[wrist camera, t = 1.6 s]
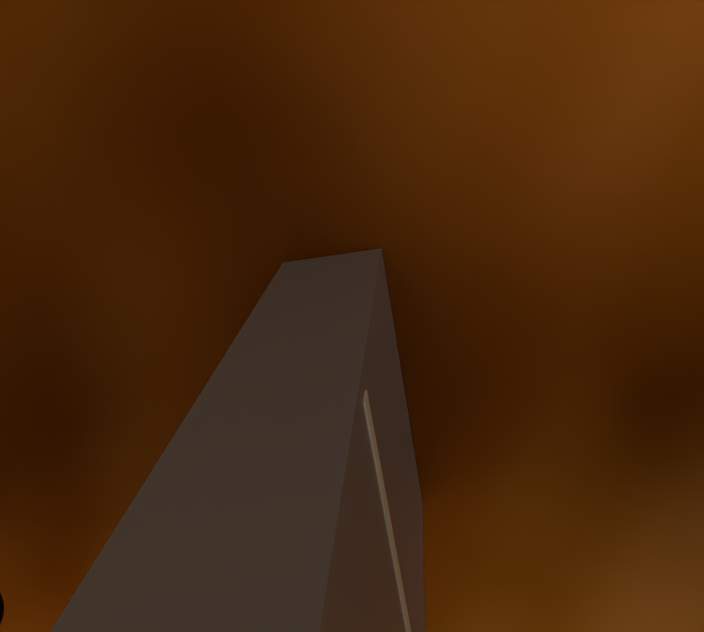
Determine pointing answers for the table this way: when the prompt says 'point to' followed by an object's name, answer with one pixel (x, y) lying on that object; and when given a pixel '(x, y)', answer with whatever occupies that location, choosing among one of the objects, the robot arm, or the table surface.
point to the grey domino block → (279, 480)
